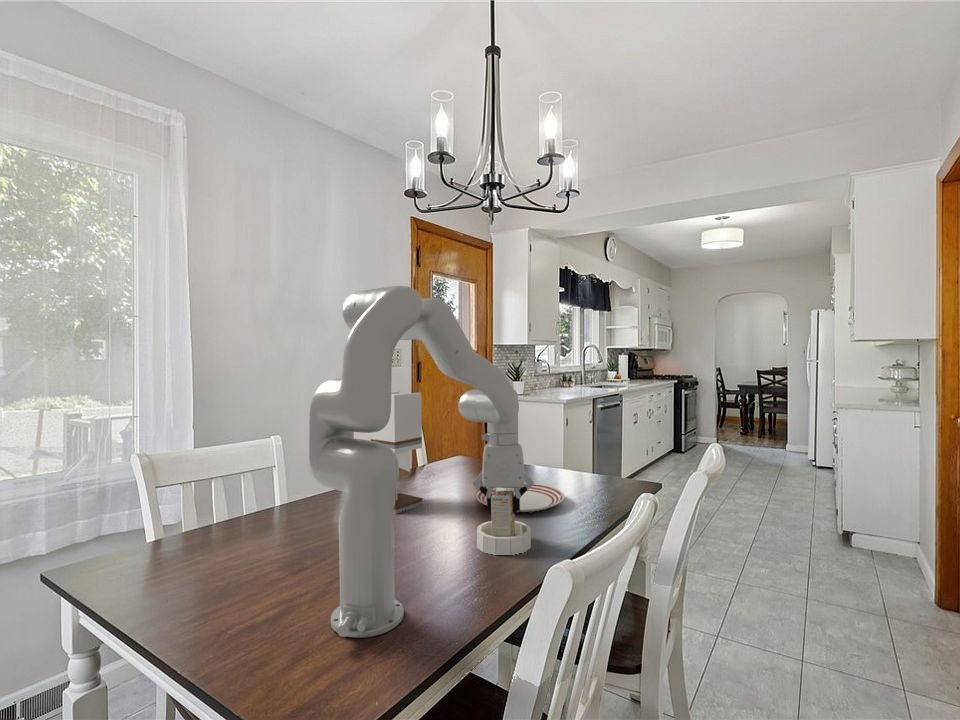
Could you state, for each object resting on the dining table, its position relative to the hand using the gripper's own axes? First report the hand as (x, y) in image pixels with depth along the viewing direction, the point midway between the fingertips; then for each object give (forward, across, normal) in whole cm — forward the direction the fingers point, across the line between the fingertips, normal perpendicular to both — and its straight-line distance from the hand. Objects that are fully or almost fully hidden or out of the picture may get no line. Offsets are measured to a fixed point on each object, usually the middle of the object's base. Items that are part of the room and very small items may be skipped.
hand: (503, 512), depth 123 cm
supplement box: (+8, 0, 0) cm, 8 cm away
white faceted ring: (+8, 0, 0) cm, 8 cm away
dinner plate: (+9, +4, +34) cm, 36 cm away
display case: (+8, -34, +30) cm, 46 cm away
